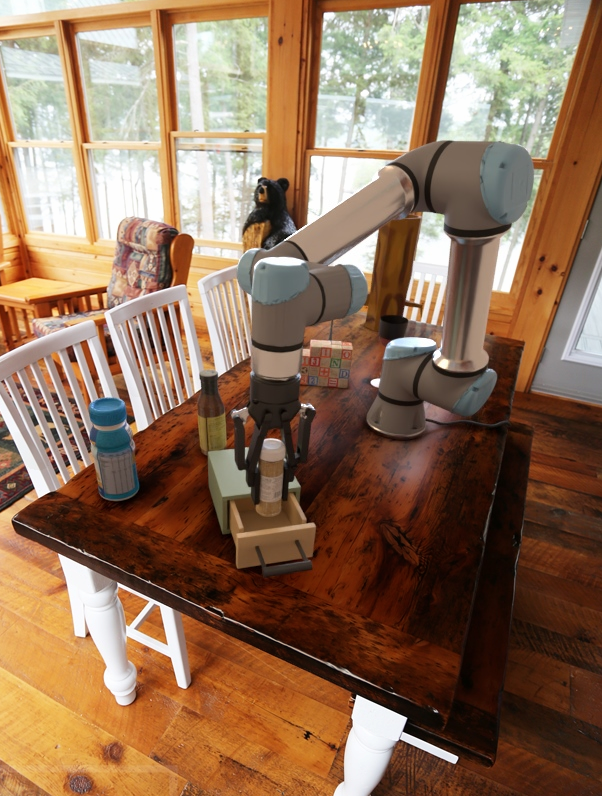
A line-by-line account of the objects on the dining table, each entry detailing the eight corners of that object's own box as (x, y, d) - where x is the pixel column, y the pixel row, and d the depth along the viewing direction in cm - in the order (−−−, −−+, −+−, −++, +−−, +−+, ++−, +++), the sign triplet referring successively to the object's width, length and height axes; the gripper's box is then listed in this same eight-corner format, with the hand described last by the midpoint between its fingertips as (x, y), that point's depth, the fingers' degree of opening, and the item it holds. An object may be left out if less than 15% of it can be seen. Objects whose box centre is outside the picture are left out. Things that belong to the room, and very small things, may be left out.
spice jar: (271, 499, 92) (275, 434, 84) (286, 513, 88) (291, 447, 81) (250, 507, 89) (252, 441, 82) (264, 521, 86) (267, 454, 79)
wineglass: (367, 386, 154) (377, 321, 143) (373, 376, 161) (383, 313, 150) (393, 391, 152) (405, 325, 141) (398, 380, 159) (410, 317, 148)
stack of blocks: (277, 383, 154) (279, 344, 147) (278, 375, 159) (280, 337, 153) (347, 388, 153) (353, 349, 146) (346, 380, 158) (352, 341, 151)
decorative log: (360, 209, 192) (442, 216, 185) (347, 316, 214) (419, 325, 207) (354, 214, 180) (441, 221, 173) (340, 326, 203) (417, 336, 195)
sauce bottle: (230, 447, 122) (230, 369, 111) (220, 460, 117) (219, 380, 106) (205, 442, 123) (203, 365, 113) (194, 454, 118) (190, 375, 108)
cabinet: (297, 523, 99) (300, 487, 94) (222, 534, 95) (222, 497, 90) (275, 478, 111) (277, 444, 107) (208, 486, 108) (207, 451, 103)
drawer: (326, 584, 84) (330, 554, 80) (246, 598, 81) (247, 567, 77) (288, 507, 101) (290, 478, 98) (221, 516, 98) (221, 487, 95)
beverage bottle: (119, 508, 101) (105, 419, 90) (89, 493, 105) (73, 406, 94) (148, 487, 107) (139, 402, 96) (119, 474, 111) (107, 390, 100)
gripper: (322, 358, 80) (309, 480, 92) (212, 365, 76) (215, 491, 88) (340, 377, 74) (324, 504, 86) (222, 386, 70) (223, 518, 82)
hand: (269, 497), depth 87 cm, fingers closed on spice jar, 4 cm apart
